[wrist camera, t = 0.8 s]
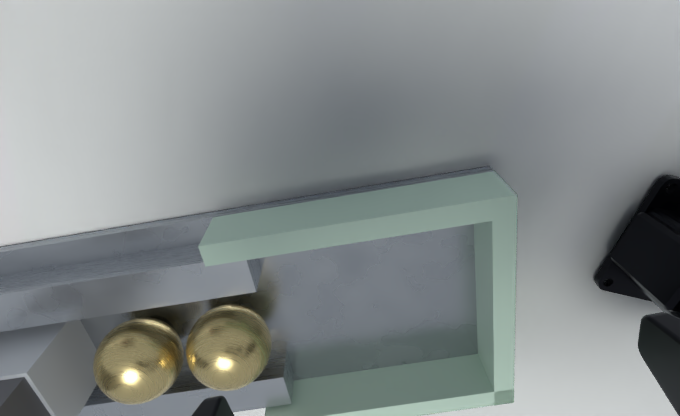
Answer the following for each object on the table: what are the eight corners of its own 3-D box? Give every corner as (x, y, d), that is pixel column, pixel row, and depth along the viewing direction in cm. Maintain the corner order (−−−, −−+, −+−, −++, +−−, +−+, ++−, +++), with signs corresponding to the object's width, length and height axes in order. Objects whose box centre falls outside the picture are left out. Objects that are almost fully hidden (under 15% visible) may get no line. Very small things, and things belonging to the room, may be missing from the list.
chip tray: (494, 171, 19) (517, 194, 17) (495, 364, 25) (513, 402, 22) (213, 217, 20) (197, 246, 18) (273, 396, 25) (268, 436, 23)
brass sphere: (178, 295, 22) (149, 354, 18) (203, 353, 24) (180, 417, 20) (103, 307, 22) (59, 367, 18) (132, 363, 24) (98, 429, 20)
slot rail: (489, 165, 20) (509, 186, 18) (492, 356, 25) (507, 389, 23) (-61, 257, 21) (-105, 286, 19) (51, 419, 26) (27, 457, 24)
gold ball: (265, 281, 22) (253, 338, 18) (283, 341, 23) (275, 403, 20) (188, 293, 22) (161, 352, 18) (211, 352, 23) (191, 415, 20)
